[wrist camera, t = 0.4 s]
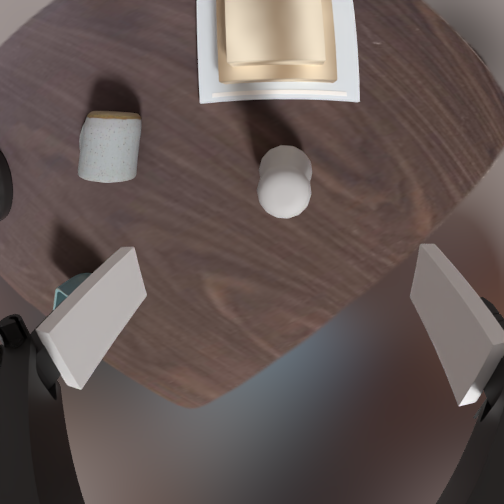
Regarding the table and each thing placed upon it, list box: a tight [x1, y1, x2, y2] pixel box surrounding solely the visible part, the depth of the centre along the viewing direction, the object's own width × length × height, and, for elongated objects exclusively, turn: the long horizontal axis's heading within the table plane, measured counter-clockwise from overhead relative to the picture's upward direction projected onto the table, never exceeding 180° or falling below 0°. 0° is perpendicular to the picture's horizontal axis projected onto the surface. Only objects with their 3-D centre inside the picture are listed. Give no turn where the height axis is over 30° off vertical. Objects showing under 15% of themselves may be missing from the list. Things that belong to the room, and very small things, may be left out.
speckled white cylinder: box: [78, 111, 141, 183], centre depth 31 cm, size 11×8×8 cm
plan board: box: [197, 0, 360, 104], centre depth 27 cm, size 18×16×1 cm
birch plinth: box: [216, 0, 337, 84], centre depth 23 cm, size 12×12×6 cm
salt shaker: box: [257, 145, 312, 218], centre depth 28 cm, size 6×6×13 cm
